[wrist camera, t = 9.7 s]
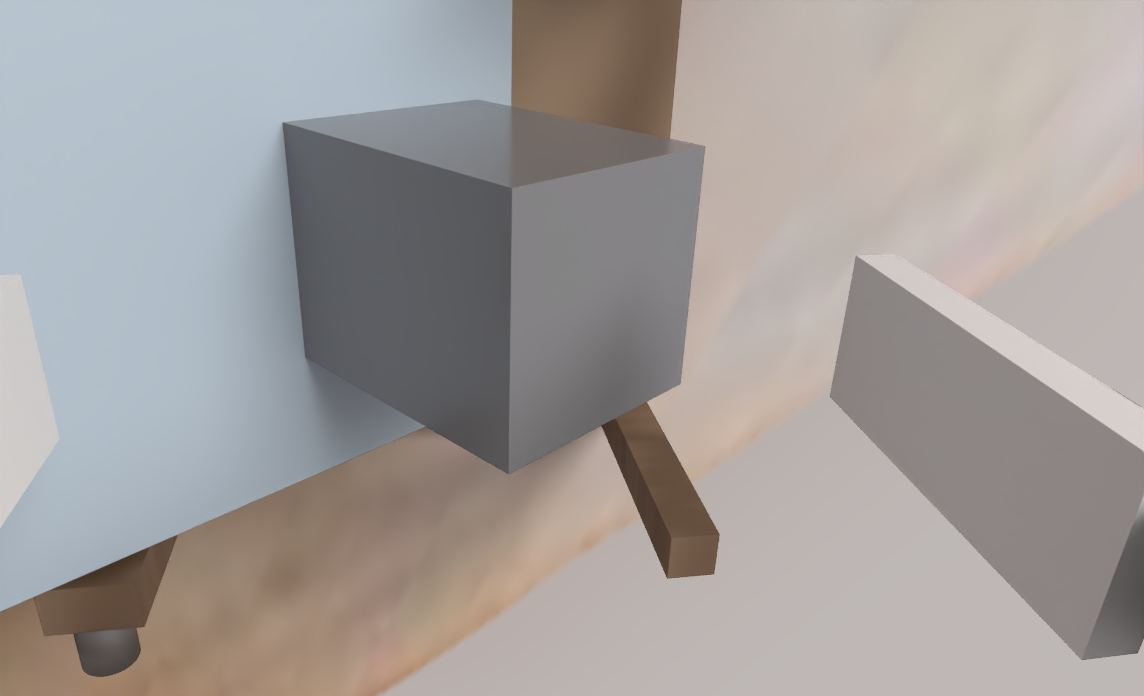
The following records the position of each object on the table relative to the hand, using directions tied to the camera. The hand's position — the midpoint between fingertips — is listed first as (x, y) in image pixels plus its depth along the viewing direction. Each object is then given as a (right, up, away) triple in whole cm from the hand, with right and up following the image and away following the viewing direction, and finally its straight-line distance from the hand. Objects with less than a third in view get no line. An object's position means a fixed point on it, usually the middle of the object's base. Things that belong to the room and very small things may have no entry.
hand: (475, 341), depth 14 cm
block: (-3, +3, +7) cm, 8 cm away
